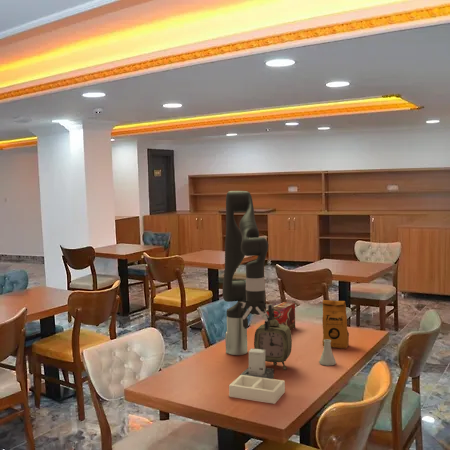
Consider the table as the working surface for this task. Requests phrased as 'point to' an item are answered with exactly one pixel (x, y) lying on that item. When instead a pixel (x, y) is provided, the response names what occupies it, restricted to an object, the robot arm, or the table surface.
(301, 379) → the table surface
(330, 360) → the flask
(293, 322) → the ice cream box
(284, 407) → the table surface
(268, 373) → the socket block
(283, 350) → the tabletop clock
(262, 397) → the cream divided tray
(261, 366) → the skincare box
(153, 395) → the table surface
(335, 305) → the coffee package
